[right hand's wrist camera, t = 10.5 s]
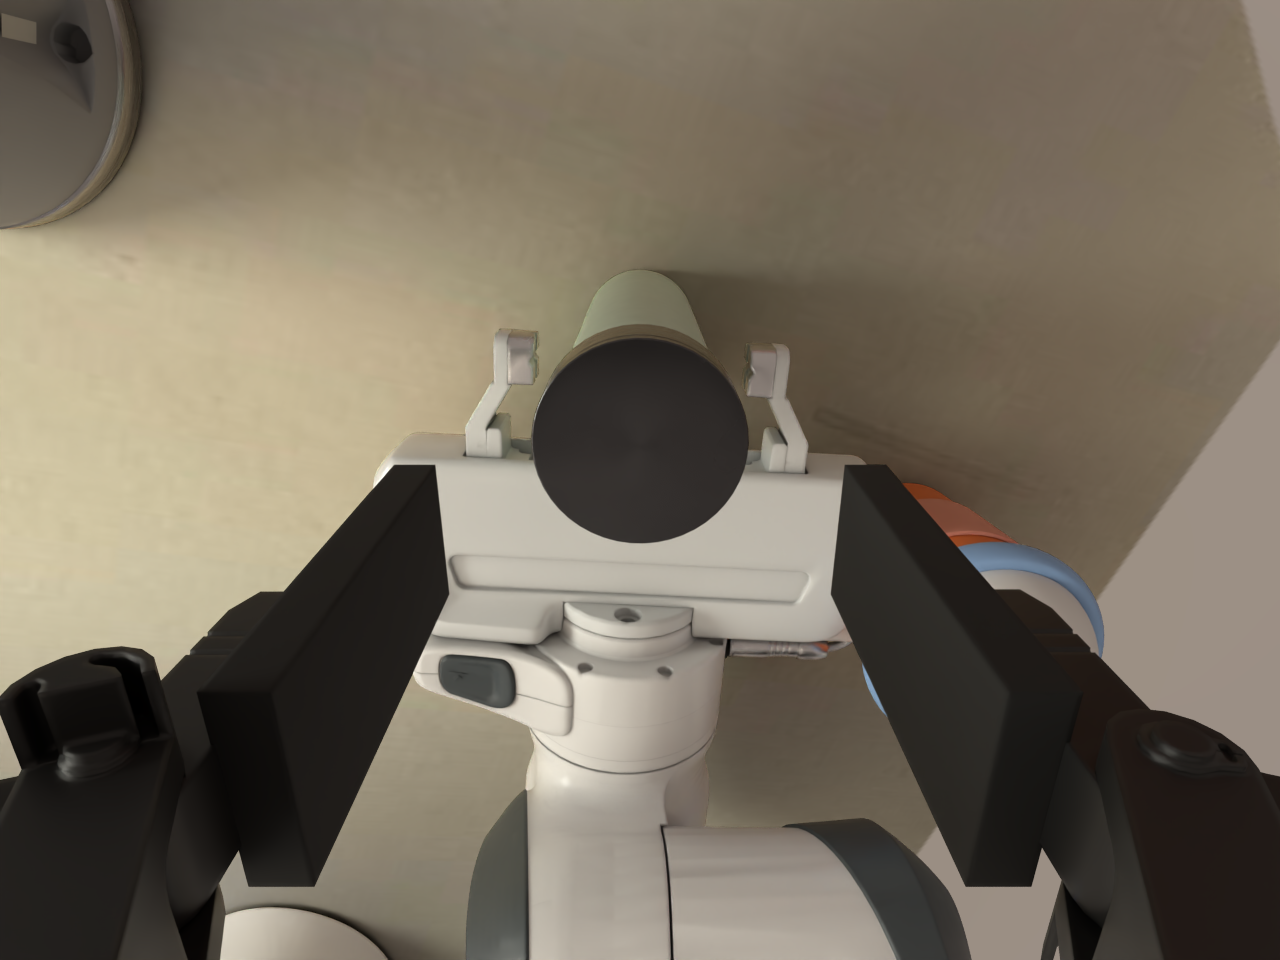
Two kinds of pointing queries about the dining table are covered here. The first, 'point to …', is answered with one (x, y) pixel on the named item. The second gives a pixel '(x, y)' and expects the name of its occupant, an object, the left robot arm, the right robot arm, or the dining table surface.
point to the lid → (639, 434)
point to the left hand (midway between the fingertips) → (642, 338)
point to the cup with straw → (1013, 567)
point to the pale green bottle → (640, 305)
